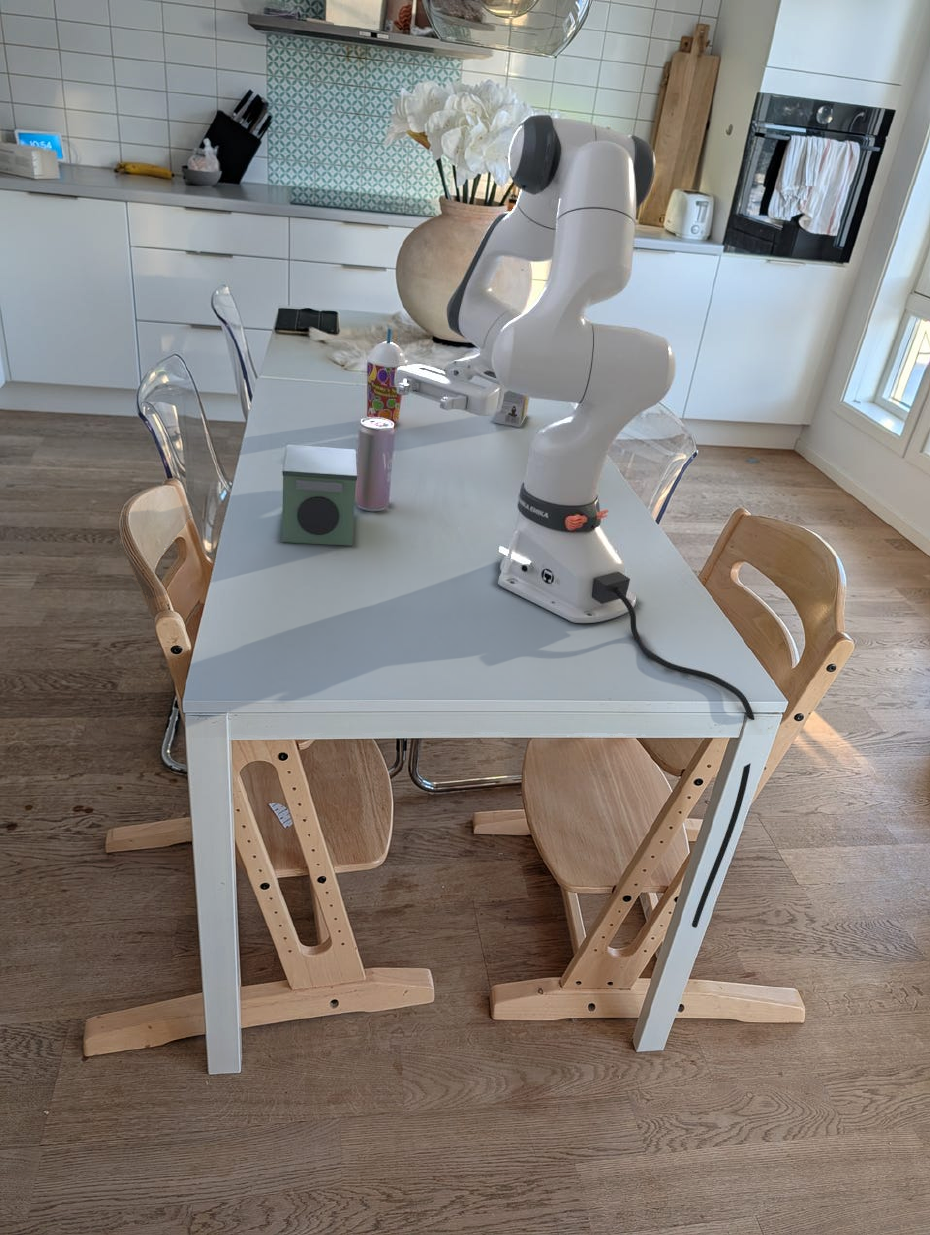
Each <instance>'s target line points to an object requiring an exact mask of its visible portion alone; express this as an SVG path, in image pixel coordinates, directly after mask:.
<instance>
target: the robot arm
mask: <svg viewBox="0 0 930 1235" xmlns="http://www.w3.org/2000/svg"><path fill="white" fill-rule="evenodd" d="M508 165H509V166H508V167H509V176H510V179H511V180H512V182H513V184H514V186H515V187H516V188H518V189H520V191H519V194H518V198H517V201H516V203H515V205H514V206H513V209H512V210H511V211H504V212H502V213H501V214H499V215H497V217H496V218H494V220H493V221H492V222H491V224H490V225H489V226H488V228H487V230H486V232H485V233H484V236H482V239H481V241H480V243H479V245H478V247H477V248H476V251H475V253H474V255H473V257H472V259H471V261H470V263H469V266H468V267H467V270H466V272H465V274H464V276H463V278H462V280H461V282H460V283H459V284H458V287H457V288H456V289H455V291H454V292H453V294H452V295H451V297H450V299H449V300H448V303H447V306H446V320H447V323H448V324H447V325H448V327H449V329H450V330H451V331H452V332H454V333H456V334H457V335H459V336H460V337H462V338H463V339H465V340H467V341H469V342H470V343H471V344H472V345H474V346H475V347H476V348H478V349H479V350H480V351H479V353H476V354H475V355H470V356H466V357H462V358H458V359H456V360H455V359H454V360H452V361H450V362H449V363H447V364H446V365H445V366H444V368H443V369H442V370H441V369H440V368H439V369H438V368H435V367H433V366H430V365H426V364H410V365H406V366H403V367H399V368H397V369H396V371H395V377H394V384H395V387H396V388H397V394H400V395H402V397H403V396H404V397H405V396H408V395H409V394H412V395H416V396H419V397H421V398H424V399H427V400H431V401H434V402H437V403H439V409H442V410H445V411H451V410H460V411H464V412H467V413H469V414H472V415H475V416H479V417H489V416H491V415H493V414H495V413H497V412H500V411H501V407H502V403H503V398H504V393H506V392H508V391H512V392H515V393H518V394H521V395H524V396H528V397H529V398H531V399H537V400H545V401H546V400H547V401H554V402H564V403H574V404H577V406H576V408H575V409H574V410H573V411H572V412H571V413H570V414H569V415H567V416H566V417H563V418H562V419H559V420H556V421H554V422H553V421H552V422H551V423H549V424H546V425H545V426H543V427H542V428H541V429H539V431H538V432H537V433H536V434H535V435H534V436H533V438H532V439H531V442H530V447H529V451H528V452H529V453H528V458H527V459H528V460H527V464H526V471H525V475H524V476H525V477H524V481H523V482H522V484H521V485H520V490H519V493H518V498H517V499H518V501H517V509H518V514H517V518H516V521H515V525H514V528H513V531H512V534H511V538H510V541H509V545H508V547H507V548H505V547H504V546H499V550H498V552H499V553H502V554H503V555H504V556H503V558H502V559H501V562H500V565H499V569H500V574H499V577H498V580H497V585H498V586H499V587H501V588H503V589H505V590H507V591H509V592H511V593H513V594H515V595H517V596H520V597H521V598H523V599H525V600H527V601H529V602H531V603H533V604H536V605H537V606H540V607H541V608H542V609H545V610H547V611H549V612H551V613H553V614H555V615H557V616H558V617H561V618H563V619H565V620H567V621H570V622H571V623H575V624H592V623H593V624H594V623H600V622H605V621H608V620H612V619H616V618H617V617H618V618H619V617H620V616H623V615H624V614H627V613H628V614H629V619H630V620H629V621H630V624H629V625H630V631H631V634H632V636H633V639H634V640H635V642H636V643H637V645H638V647H639V648H640V650H641V651H642V653H643V654H644V655H645V656H647V657H648V658H649V659H651V660H653V661H654V662H656V663H657V664H658V665H660V666H662V667H664V668H667V669H668V670H671V671H674V672H678V673H682V674H686V675H690V676H694V677H699V678H702V679H705V680H708V681H710V682H712V683H714V684H716V685H719V686H720V687H722V688H723V689H726V690H727V691H729V692H731V693H732V694H734V695H735V696H736V697H737V698H738V700H739V701H740V702H741V704H742V706H743V708H744V711H745V713H746V716H747V718H748V719H749V720H750V721H755V715H754V711H753V709H752V707H751V704H750V702H749V701H748V699H747V697H746V696H745V694H744V693H743V692H742V691H741V690H740V689H738V688H737V687H736V686H734V685H732V684H731V683H730V682H727V681H725V680H724V679H722V678H720V677H718V676H717V675H715V674H711V673H709V672H705V671H702V670H698V669H695V668H691V667H686V666H682V665H678V664H675V663H672V662H670V661H667V660H666V659H665V658H662V657H661V656H659V655H657V654H656V653H654V652H653V651H651V650H650V649H648V647H647V646H646V645H645V643H644V642H643V640H642V638H641V635H640V633H639V632H638V628H637V616H636V612H635V609H634V607H635V606H636V603H637V595H635V594H634V593H633V592H632V591H631V590H630V589H629V586H630V582H631V578H629V577H628V576H626V567H625V563H624V561H623V559H622V558H621V556H620V554H619V552H618V550H617V548H616V547H614V545H613V543H612V542H611V541H610V538H609V537H608V535H607V534H606V532H605V530H604V529H603V527H602V525H601V523H602V519H604V518H607V517H608V515H607V513H608V512H609V509H605V510H601V509H600V508H601V507H600V500H599V495H598V491H599V486H600V481H601V477H602V475H603V474H602V473H603V471H604V470H603V469H604V467H605V463H606V460H607V456H608V454H609V452H610V449H611V447H612V445H613V443H614V442H615V441H616V439H617V437H618V436H619V434H620V433H621V432H622V431H623V430H624V428H625V427H626V426H627V425H628V424H629V423H630V422H632V420H633V419H635V418H636V417H637V416H639V415H640V414H642V413H643V412H644V411H645V412H646V410H649V409H650V408H653V407H654V406H657V405H658V404H659V403H660V402H661V401H662V400H663V399H665V397H666V395H667V394H668V393H669V391H670V390H671V388H672V386H673V383H674V380H675V376H676V369H677V367H676V366H677V365H676V364H677V363H676V357H675V353H674V350H673V348H672V347H671V344H670V343H669V341H668V340H667V338H665V337H663V336H661V335H658V334H655V333H652V332H648V331H645V330H643V329H640V328H636V327H629V326H620V325H611V324H603V323H596V322H591V321H588V320H586V319H585V312H586V310H587V309H588V308H590V307H593V306H595V305H598V304H601V303H604V302H606V301H608V300H611V299H612V298H615V297H616V296H617V295H619V294H620V293H621V292H622V291H624V289H625V288H626V287H627V285H628V283H629V281H630V279H631V276H632V269H633V259H634V258H633V256H634V245H635V234H636V220H637V209H638V208H639V207H640V206H641V205H642V204H643V203H645V201H646V200H647V198H648V196H649V194H650V192H651V189H652V185H653V182H654V178H655V175H656V174H655V173H656V166H657V165H656V155H655V152H654V149H653V146H652V145H651V143H649V142H648V141H646V140H644V139H643V138H641V137H638V136H636V135H634V134H629V135H627V134H624V133H622V132H619V131H617V130H614V129H611V128H607V127H604V126H600V125H596V124H594V123H593V122H589V121H583V120H578V119H570V118H561V117H559V118H557V117H552V116H551V115H550V114H536V115H535V114H534V115H529V116H527V117H526V118H524V119H523V120H522V122H520V123H519V125H518V127H517V129H516V132H515V133H514V135H513V137H512V139H511V143H510V146H509V151H508ZM505 257H507V258H513V259H519V260H521V261H525V262H531V263H542V262H548V261H551V263H550V268H549V273H548V275H547V276H548V277H547V279H546V282H545V284H544V286H543V289H542V290H541V292H540V293H539V295H538V297H537V298H536V299H535V301H534V302H533V303H532V304H531V305H530V306H529V307H528V308H527V309H526V310H524V312H522V313H521V312H520V311H518V310H517V309H516V308H514V307H512V306H511V305H510V304H508V303H507V302H506V301H504V300H503V299H502V298H500V297H499V296H498V295H497V294H496V293H495V292H494V289H493V288H492V285H491V284H492V282H493V279H494V278H495V276H496V274H497V272H498V270H499V268H500V266H501V265H502V263H503V261H504V259H505ZM751 764H752V762H750V763H748V764H746V765H744V766H743V769H742V773H741V779H740V784H739V788H738V792H737V796H736V799H735V802H734V807H733V809H732V813H731V816H730V818H729V823H728V826H727V829H726V831H725V834H724V837H723V840H722V842H721V845H720V847H719V850H718V853H717V855H716V857H715V860H714V862H713V865H712V868H711V871H710V873H709V875H708V878H707V881H706V883H705V886H704V888H703V892H702V894H701V896H700V899H699V902H698V905H697V907H696V911H695V913H694V916H693V919H692V923H691V927H693V929H697V928H698V925H699V922H700V919H701V916H702V913H703V910H704V908H705V905H706V902H707V899H708V896H709V894H710V891H711V889H712V887H713V884H714V881H715V879H716V876H717V874H718V872H719V869H720V866H721V864H722V861H723V859H724V856H725V854H726V852H727V849H728V846H729V843H730V840H731V838H732V835H733V832H734V830H735V828H736V824H737V822H738V818H739V814H740V811H741V808H742V804H743V800H744V797H745V793H746V789H747V784H748V781H749V777H750V776H749V775H750V771H751V770H750V769H751Z"/></svg>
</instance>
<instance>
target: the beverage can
mask: <svg viewBox="0 0 930 1235" xmlns="http://www.w3.org/2000/svg"><path fill="white" fill-rule="evenodd" d="M395 433H396V430H395V425H394V423H393V422H392V421H390V420H388V419H385V418H379V417H364V418H362V419H361V420H360V424H359V426H358V439H357V452H356V455H357V481H356V493H355V506H357V507H358V508H359V509H361V510H363V511H367V512H380V511H384V510H385V509H386V508H388V506H389V504H390V495H391V494H390V493H391V481H392V469H393V458H394V445H395Z"/></svg>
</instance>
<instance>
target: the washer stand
mask: <svg viewBox="0 0 930 1235" xmlns="http://www.w3.org/2000/svg"><path fill="white" fill-rule="evenodd" d="M281 472H282V473H281V476H282V504H281V506H282V508H281V509H282V510H281V511H282V512H281V513H282V514H281V543H293V544H294V543H295V544H311V545H326V546H327V545H328V546H347V547H352V546H353V540H354V539H353V538H354V522H355V509H356V508H355V507H356V503H355V493H356V481H357V449H354V448H341V447H340V448H339V447H328V446H327V447H326V446H324V447H323V446H315V445H314V446H311V445H298V444H286V445H285V452H284V458H283V465H282V471H281Z"/></svg>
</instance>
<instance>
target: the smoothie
mask: <svg viewBox="0 0 930 1235" xmlns="http://www.w3.org/2000/svg"><path fill="white" fill-rule="evenodd" d="M391 336H392V329H391V328H387V338H386V341H382V342H380V343H378V344H376V345H375V346H373V347H372V349H371V351H370V353H369V355H367V357H366V361H367V362H366V363H367V364H366V418H368V417H379V418H385V419H388V420H390V421H392V422H393V423H394V426H395V425H396V423H397V421H398V420H399V418H400V411H401V405H402V399H403V398H402V397H403V395H400V394H397V388H396V387H395V384H394V377H395V371H396V369H397V368H399V367H403V366H408V365H407V364H408V360H407V359H406V356H405V353H404V352H403V350H402V348H401V347H400V346H399V345H398V344H396V343H394V342H392V341H391Z"/></svg>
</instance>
